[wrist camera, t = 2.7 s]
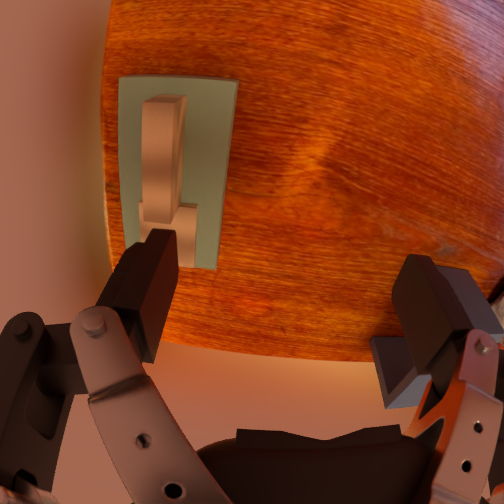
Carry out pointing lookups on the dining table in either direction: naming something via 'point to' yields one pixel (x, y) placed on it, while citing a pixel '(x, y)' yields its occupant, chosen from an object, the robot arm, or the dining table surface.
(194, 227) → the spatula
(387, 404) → the upper shelf
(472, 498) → the robot arm
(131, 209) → the low shelf
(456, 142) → the dining table surface
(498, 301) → the decorative stone
